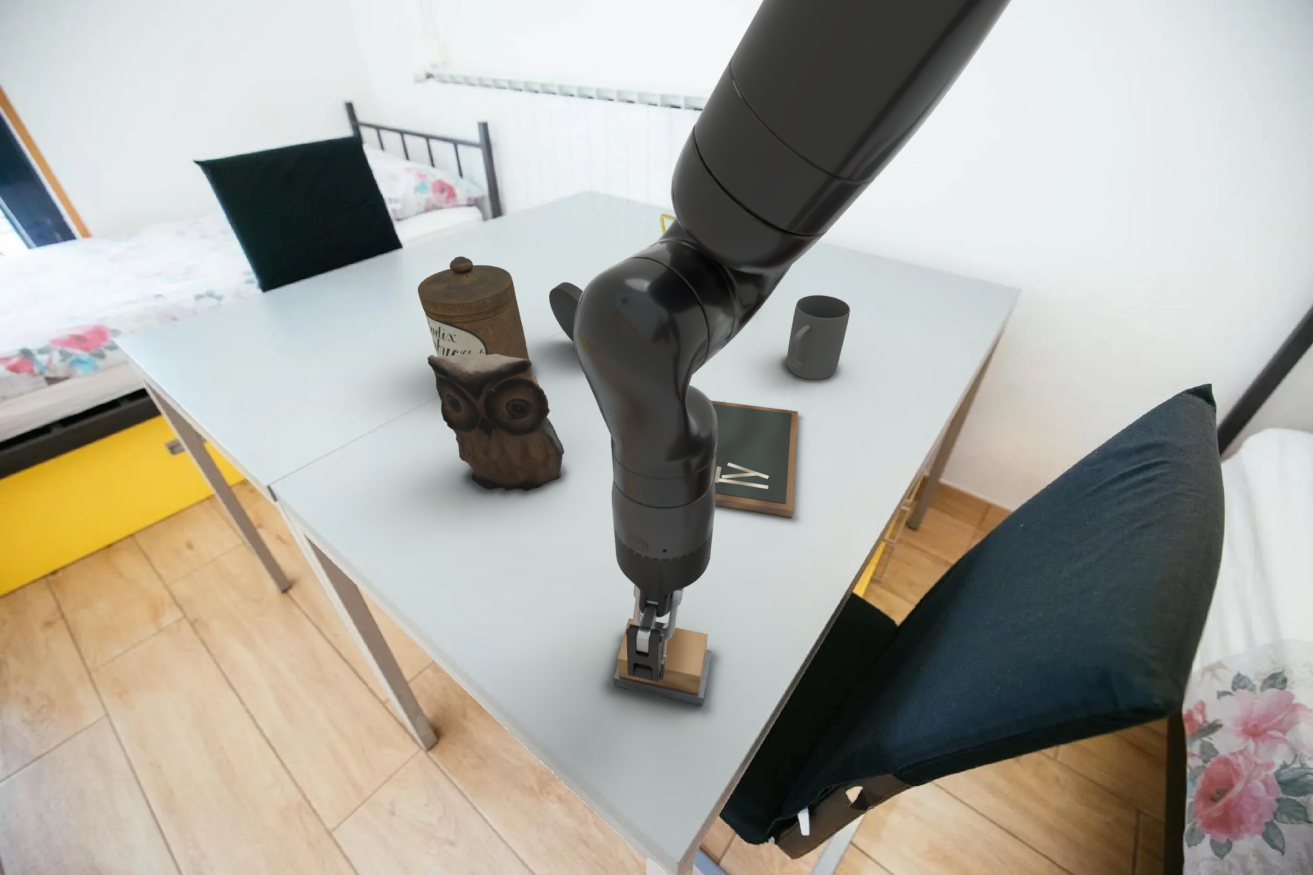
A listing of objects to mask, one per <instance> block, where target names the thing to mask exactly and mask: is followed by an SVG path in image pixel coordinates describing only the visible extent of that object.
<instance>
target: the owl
mask: <svg viewBox="0 0 1313 875" xmlns="http://www.w3.org/2000/svg"><path fill="white" fill-rule="evenodd" d="M427 364H428V365H429V367H431V369H432V371H433V373H434V376H435V387H436V390H437V394H438V398H439V399H440V402H441V403H440V412H441V416H442V419H443V421H444V422H445V423H446V426H447V427H448V428H449V429H451V430H452V431H453V432H454V434H455V440H456V443H457V447H458V454H459V455H458V456H459V458H460V459H461V461H463V462H465V463H467V464H468V465H469V466H470V468H471V469H472V470H473V472H472V473H471V480H472V481H474V482H475V483H476V484H477V485H479V486H481V487H482V488H483V489H486V490H488V491H492V490H495V489H501V488H503V489H504V491H505V492H506V491H512V490H515V489H517V490H520V489H522V490H523V491H524V492H528V491H530V490H533V489H538V488H540V487H542V486H543V485H545V484H547V483H549V482H552V481H554V480H558V479H560V478H561V477H562V471H561V468H562V464H563V458H564V457H563V456H564V454H565V449H564V446H563V443H562V441H561V439H560V438H559V436H558V434H557V431H556V429H555V427H554V425H553V423H552V422H551V420H550V419H549V418H548V415H549V414H550V412H551V409H550V408H549V400H548V398H547V395H546V394H545V390H544V389H543V388H542V387H541V385H540V384H539V383H538V380H537V379H538V378H537V376H536V374H534V373H533V371H532V361H531V360H530V359H529V360H528V359H522V358H515V357H507V356H503V355H499V354H492V355H484V354H477V353H476V354H460V355H454V356H436V355H433V354H430V355H429V356H427ZM530 369H531V370H530Z"/></svg>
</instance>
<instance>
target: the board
mask: <svg viewBox="0 0 1313 875" xmlns="http://www.w3.org/2000/svg"><path fill="white" fill-rule="evenodd" d="M710 401H711V402H712V404H713V406H714V408H715V410H716V415H717V419H718V445H717V456H716V467H715V490H716V504H715V506H717V507H718V506H720V507H725V508H729V509H730V508H731V509H735V510H744V511H749V512H755V513H761V514H769V515H775V516H781V517H786V518H792V517H793V514H794V504H795V503H794V502H795V501H794V500H795V484H796V483H795V481H796V463H797V462H796V460H797V440H798V419H799V411H797V410H790V409H782V408H774V407H766V406H758V405H750V404H744V403H743V404H742V403H734V402H726V401H719V400H712V399H710Z"/></svg>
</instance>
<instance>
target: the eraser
mask: <svg viewBox="0 0 1313 875" xmlns="http://www.w3.org/2000/svg"><path fill="white" fill-rule="evenodd" d="M632 622H633V618H628V620H627V623H626V627H625V631H624V634H623V637H622V640H621V644H620V647H619V650H618V653H617V657H616V662H617V664H616V667H615V671H614V674H613V678H612V679H613V686H615V687H619V688H622V689H623V688H624V689H628V690H632V691H636V692H641V693H647V694H650V695H654V696H659V697H663V698H669V699H672V700H676V701H681V702H685V703H689V704H695V705H698V706H704V703H705V702H704V701H705V696H706V690H707V682H708V676H709V670H710V665H711V657H712V650H710V649H707V647H708V638H709V637H708V636H709V635H708V633H704V632H698V631H693V630H690V629H685V628H679V627H675V631H674V634H673V636H672V638H671V639H668V640H667V647H666V654H667V657H666V660H665V672H664V677H663V679H662V680H659V681H658V682H655V681H650V680H646V679H642V678H638V677H633V676H629V675H628V670H627V667H628V665H627V635H626V630H627V628H629V625H630V624H632Z"/></svg>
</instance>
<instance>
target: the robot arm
mask: <svg viewBox="0 0 1313 875" xmlns="http://www.w3.org/2000/svg"><path fill="white" fill-rule="evenodd" d="M1011 2H1012V0H762V1H761V3H760V5H759V7H758V9H757V10H756V13H755V14H754V16H753V18H752V20H751V22H750V23H749V25H748V27H747V29H746V31H745V32H744V34H743V36H742V37H741V40H740V42H739V43H738V45H737V47H736V49H735V50H734V52H733V54H732V56H731V57H730V59H729V61H728V63H727V65H726V67H725V68H724V70H723V71H722V74H721V75H720V77H719V78H718V80H717V83H716V85H715V86H714V88H713V90H712V92H711V94H710V95H709V98H708V99H707V101H706V103H705V105H704V107H703V108H702V111H701V112H700V114H699V116H698V118H697V120H696V122H695V124H694V125H693V127H692V129H691V131H690V133H689V134H688V136H687V138H686V140H685V143H684V144H683V146H682V149H681V151H680V153H679V156H678V158H677V160H676V162H675V166H674V169H673V172H672V176H671V183H670V199H671V204H672V208H673V212H674V215H675V216H674V217H675V219H674V221H672V222H671V223H670V225H669V226H668V227H667V229H666V231H665V233H664V234H661V236H660V237H659V239H658V240H657V241H655V242H654V243H653V244H651V245H649V246H647V247H645V248H643V249H641V250H639V251H638V252H636V253H634V254H633V255H631V256H629V257H627V258H625V259H623V260H622V261H619V262H618V263H615V264H614V265H611V266H610V267H608V268H607V269H605V270H603V271H601V272H599V273H598V274H597V275H596V276H594V278H592V279H591V280H590V281H589V283H587V285H586V287H584V289H583V290H582V291H583V292H582V294H581V297H580V299H579V302H578V305H577V309H576V312H575V318H574V329H573V337H574V342H573V345H574V350H575V355H576V357H577V360H578V362H579V363H578V364H579V365H580V368H581V370H582V372H583V375H584V376H585V379H586V381H587V383H588V386H589V388H590V390H591V393H592V395H593V397H594V399H595V402H596V405H597V407H598V409H599V412H600V414H601V417H602V418H603V420H604V423H605V425H606V427H607V429H608V432H609V434H610V451H611V452H610V453H611V463H612V483H611V484H612V486H611V510H612V523H613V524H612V525H613V534H614V546H615V547H614V548H615V556H616V562H617V565H618V567H619V569H620V571H621V572H622V574H623V575H624V576H625V577H626V578H627V579H628V580H629V581H630V582H631V583H632V584H634V587H633V596H634V599H635V602H634V609H633V616H632V619H633V622H632V624H630V625H629V628H627V630H626V629H625V630H626V635H627V665H628V667H627V670H628V675H629V676H633V677H638V678H642V679H646V680H650V681H655V682H658V681H659V680H662V679H663V677H664V672H665V660H666V657H667V654H666V647H667V640H668V639H671V638H672V636H673V634H674V631H675V628H677V627H676V626H677V618H678V612H679V606H680V605H681V603H682V600H683V597H684V592H685V588H687V587H690V585H692V584H694V583H695V582H696V581H698V580H699V579H700V578H701V577H702V576H703V575H704V573H705V572H706V570H707V568H708V566H709V563H710V560H711V555H712V554H711V553H712V543H713V535H714V533H713V532H714V522H715V512H716V505H715V504H716V490H715V467H716V456H717V445H718V419H717V415H716V410H715V408H714V406H713V404H712V402H711V401H712V400H711V399H710V398H709V397H708V396H707V394H705V393H704V392H703V391H702V390H700V389H699V388H697V387H695V386H694V385H691V384H690V383H691V380H692V376H693V375H694V374H696V373H697V372H698V371H699V370H700V369H701V368H702V367H703V366H704V365H706V364H707V363H709V361H710V360H711V359H712V358H714V357H715V356H716V355H718V353H719V352H720V351H722V350H723V349H724V348H725V347H726V346H727V345H729V343H730V342H732V340H733V339H734V338H735V337H737V335H738V334H740V332H741V331H742V330H743V329H744V328H745V327H746V326H747V324H749V322H750V321H751V320H752V319H753V318H754V317H755V315H756V314H757V313H758V312H759V311H760V309H761V308H763V306H764V304H765V303H766V302H767V300H768V299H769V298H770V296H771V295H772V294H773V293H774V291H775V289H776V288H777V287H778V286H779V284H780V283H781V282H782V280H783V279H784V277H785V276H786V274H787V273H788V272H789V270H790V269H791V267H792V265H794V264H795V263H796V262H797V261H798V260H799V259H800V258H802V257H803V256H804V255H805V254H806V253H807V252H808V251H809V250H810V249H812V247H813V246H814V245H816V244H817V242H818V241H819V240H820V239H822V238H823V236H825V234H827V233H828V231H829V230H830V229H831V228H832V227H834V225H835V224H836V223H837V221H839V219H840V218H841V217H842V216H843V215H844V214H845V213H846V212H847V211H848V209H849V208H850V207H851V206H852V205H853V204H854V203H855V202H856V201H857V200H858V198H859V197H861V195H862V194H863V193H864V192H865V191H866V190H867V189H868V187H870V185H871V184H872V183H873V182H874V181H875V180H876V178H878V177H879V176H880V175H881V174H882V173H883V171H885V169H886V168H887V167H888V166H889V165H890V164H891V163H892V161H894V159H895V158H896V157H897V156H898V154H899V153H901V151H902V150H903V149H904V147H905V146H906V145H907V144H908V143H910V141H911V139H912V138H914V136H915V135H916V134H917V133H918V131H919V130H920V128H921V127H922V126H923V125H924V124H925V123H926V121H927V120H928V119H929V117H930V116H931V115H932V113H933V112H934V111H935V110H936V108H937V107H938V106H939V105H940V103H941V102H942V101H943V99H944V98H945V97H946V95H947V94H948V93H949V92H950V90H951V89H952V87H953V86H954V85H955V83H956V82H957V81H958V79H959V77H960V76H961V75H962V73H964V71H965V69H966V68H967V66H969V64H970V63H971V61H972V60H973V58H974V57H975V55H976V54H977V52H978V51H979V50H980V48H981V47H982V45H983V43H984V42H985V40H986V39H987V38H988V36H989V35H990V34H991V32H992V30H994V27H995V26H996V24H997V23H998V21H999V20H1000V18H1001V16H1002V15H1003V14H1004V12H1005V10H1006V9H1007V8H1008V6H1009V5H1010V3H1011ZM710 400H711V401H710ZM666 615H669V616H668V622H661V621H657V618H659V619H660V618H662V617H663V618H664V617H665V616H666Z"/></svg>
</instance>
